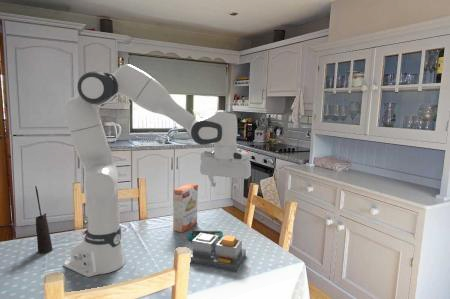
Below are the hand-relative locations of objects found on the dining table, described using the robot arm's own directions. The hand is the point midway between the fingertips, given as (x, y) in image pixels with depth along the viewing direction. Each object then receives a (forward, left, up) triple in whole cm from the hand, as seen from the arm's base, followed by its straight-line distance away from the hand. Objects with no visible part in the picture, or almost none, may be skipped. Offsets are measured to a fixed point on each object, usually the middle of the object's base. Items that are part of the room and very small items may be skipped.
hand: (224, 187), depth 122 cm
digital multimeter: (-13, +13, -30) cm, 35 cm away
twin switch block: (-2, -2, -29) cm, 29 cm away
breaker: (-7, -2, -24) cm, 25 cm away
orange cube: (+3, -2, -24) cm, 24 cm away
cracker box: (-28, +22, -29) cm, 46 cm away
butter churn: (-71, -21, -29) cm, 80 cm away
